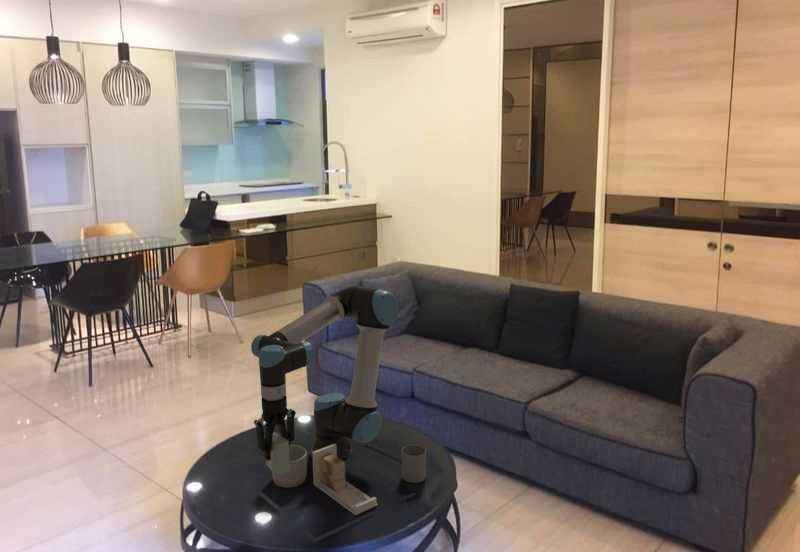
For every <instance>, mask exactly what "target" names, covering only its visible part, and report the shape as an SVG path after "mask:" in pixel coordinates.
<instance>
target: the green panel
mask: <svg viewBox="0 0 800 552" xmlns="http://www.w3.org/2000/svg"><path fill="white" fill-rule="evenodd" d="M264 438H265V435H264ZM271 449H272V450H273V455H274V470H273V471H274V472H276V473H277V474H278V475H280V474H283V473H286V472H288V471H290V457H289V441H288V440H286V439H285V438H283V437H282V436H281V434H279V433H278V432H277V431H276V432H274V431H273V437H272V445H271ZM265 466H266V467H268V461H267V460H266V459H265Z"/></svg>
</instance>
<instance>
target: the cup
mask: <svg viewBox="0 0 800 552" xmlns="http://www.w3.org/2000/svg"><path fill="white" fill-rule="evenodd" d="M426 477H427V449H426V447H424V446H422V445H419V444H408V445H406V446H403V447H402V449H401V478H402V480H403V481H405V482H407V483H413V484H415V483H421V482H424V480H426Z"/></svg>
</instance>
